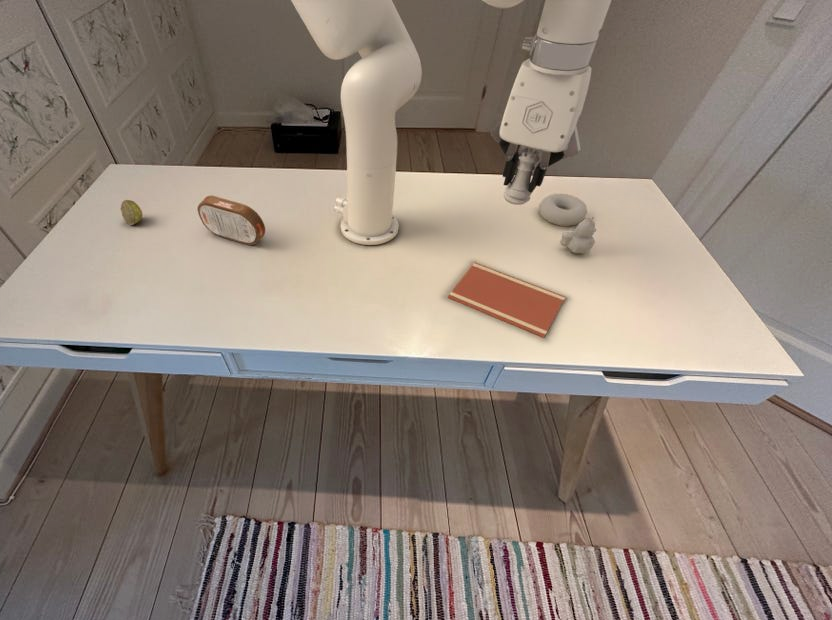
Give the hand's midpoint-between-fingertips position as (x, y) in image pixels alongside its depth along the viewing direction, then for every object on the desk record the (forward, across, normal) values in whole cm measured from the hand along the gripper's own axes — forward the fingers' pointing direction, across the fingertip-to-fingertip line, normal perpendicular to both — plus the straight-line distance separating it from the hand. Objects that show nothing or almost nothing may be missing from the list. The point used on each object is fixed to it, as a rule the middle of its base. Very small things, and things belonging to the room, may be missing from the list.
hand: (520, 184), depth 70 cm
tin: (+17, -50, -20) cm, 57 cm away
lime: (+17, -74, -28) cm, 80 cm away
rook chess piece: (+3, 0, 0) cm, 3 cm away
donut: (+18, +6, +25) cm, 31 cm away
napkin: (+17, +5, -7) cm, 19 cm away
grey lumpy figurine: (+18, +12, +14) cm, 26 cm away
